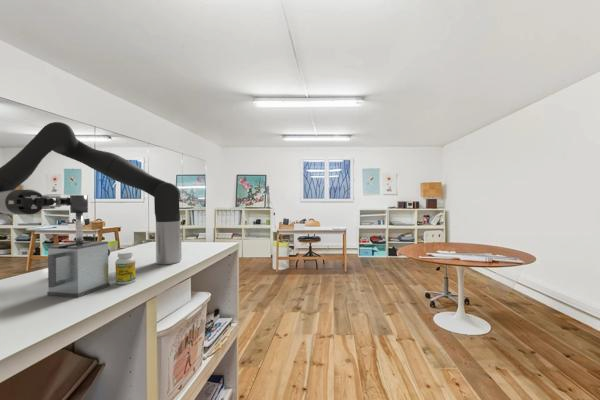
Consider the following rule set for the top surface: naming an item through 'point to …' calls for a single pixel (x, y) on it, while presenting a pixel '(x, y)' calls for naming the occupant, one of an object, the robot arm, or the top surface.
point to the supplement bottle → (125, 268)
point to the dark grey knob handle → (79, 214)
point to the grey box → (77, 268)
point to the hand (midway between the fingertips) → (64, 201)
